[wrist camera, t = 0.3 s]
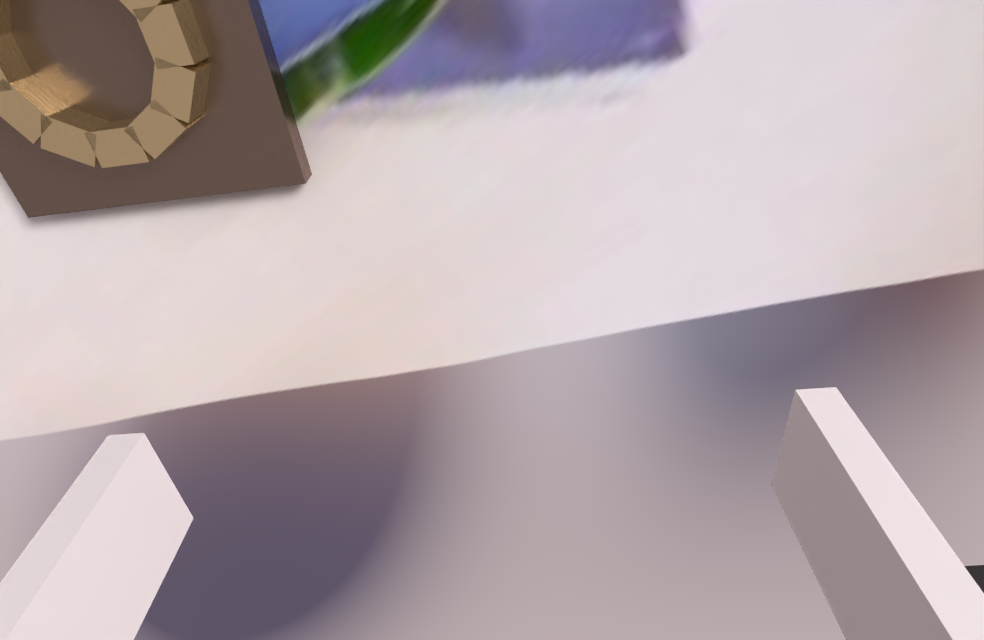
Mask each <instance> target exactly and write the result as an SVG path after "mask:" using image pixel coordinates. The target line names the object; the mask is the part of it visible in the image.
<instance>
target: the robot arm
mask: <svg viewBox="0 0 984 640" xmlns="http://www.w3.org/2000/svg"><path fill="white" fill-rule="evenodd" d="M771 485H772V487H773V489H774V491H775V493H776V495H777V497H778V499H779V502H780V504H781V506H782V508H783V510H784V512H785V514H786V516H787V518H788V520H789V522H790V524H791V526H792V529H793V531H794V533H795V534H796V537H797V539H798V541H799V543H800V545H801V547H802V549H803V551H804V553H805V556H806V558H807V560H808V562H809V564H810V566H811V568H812V570H813V572H814V574H815V576H816V578H817V580H818V582H819V584H820V587H821V589H822V591H823V593H824V595H825V597H826V599H827V601H828V603H829V605H830V607H831V609H832V611H833V613H834V615H835V618H836V620H837V622H838V624H839V626H840V628H841V630H842V632H843V634H844V636H845V638H846V640H984V565H978V566H964V565H963V564H962V563H961V561H960V560H959V558H958V557H957V555H956V554H955V553H954V551H953V550H952V549H951V547H950V546H949V544H948V543H947V542H946V540H945V539H944V537H943V536H942V535H941V533H940V532H939V530H938V529H937V528H936V526H935V525H934V523H933V522H932V521H931V519H930V518H929V517H928V515H927V514H926V512H925V511H924V509H923V508H922V507H921V505H920V504H919V502H918V501H917V500H916V498H915V497H914V495H913V494H912V493H911V491H910V490H909V488H908V487H907V486H906V484H905V483H904V482H903V480H902V479H901V477H900V476H899V475H898V473H897V472H896V470H895V469H894V468H893V466H892V465H891V463H890V462H889V461H888V459H887V458H886V456H885V455H884V454H883V452H882V451H881V450H880V448H879V447H878V445H877V444H876V443H875V441H874V440H873V438H872V437H871V436H870V434H869V433H868V431H867V430H866V429H865V427H864V426H863V424H862V423H861V422H860V420H859V419H858V417H857V416H856V415H855V413H854V412H853V411H852V409H851V408H850V406H849V405H848V403H847V402H846V401H845V399H844V398H843V396H842V395H841V394H840V392H839V391H838V390H837V388H836V387H833V388H818V389H803V390H795V394H794V398H793V402H792V406H791V410H790V414H789V417H788V421H787V425H786V429H785V433H784V437H783V441H782V445H781V449H780V453H779V457H778V460H777V465H776V468H775V472H774V476H773V480H772V484H771ZM192 520H193V517H192V515H191V513H190V511H189V510H188V508H187V506H186V505H185V503H184V501H183V499H182V498H181V496H180V494H179V492H178V491H177V489H176V487H175V486H174V484H173V482H172V480H171V479H170V477H169V475H168V473H167V472H166V470H165V468H164V467H163V465H162V463H161V461H160V460H159V458H158V456H157V455H156V453H155V451H154V450H153V448H152V446H151V444H150V442H149V441H148V439H147V437H146V436H145V434H144V433H136V434H123V435H122V434H121V435H108V436H107V438H106V439H105V440H104V442H103V443H102V445H101V446H100V447H99V449H98V450H97V451H96V453H95V454H94V455H93V457H92V458H91V460H90V461H89V462H88V464H87V465H86V466H85V468H84V469H83V471H82V472H81V473H80V475H79V476H78V477H77V479H76V480H75V481H74V483H73V484H72V485H71V487H70V488H69V490H68V491H67V492H66V494H65V495H64V496H63V498H62V499H61V500H60V502H59V503H58V505H57V506H56V507H55V509H54V510H53V511H52V513H51V514H50V516H49V517H48V518H47V520H46V521H45V522H44V524H43V525H42V527H41V528H40V529H39V531H38V532H37V533H36V535H35V536H34V537H33V539H32V540H31V541H30V543H29V544H28V546H27V547H26V548H25V550H24V551H23V552H22V554H21V555H20V557H19V558H18V559H17V560H16V562H15V563H14V565H13V566H12V567H11V569H10V570H9V571H8V573H7V574H6V575H5V577H4V578H3V580H2V581H1V582H0V640H134V638H135V636H136V634H137V632H138V630H139V628H140V626H141V624H142V622H143V620H144V618H145V615H146V613H147V611H148V609H149V607H150V605H151V603H152V601H153V599H154V597H155V595H156V593H157V591H158V589H159V587H160V585H161V583H162V581H163V579H164V577H165V575H166V573H167V571H168V569H169V567H170V565H171V563H172V561H173V559H174V557H175V555H176V553H177V551H178V548H179V546H180V545H181V543H182V540H183V538H184V536H185V534H186V532H187V530H188V528H189V526H190V524H191V522H192Z"/></svg>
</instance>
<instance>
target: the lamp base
mask: <svg viewBox="0 0 984 640" xmlns="http://www.w3.org/2000/svg"><path fill="white" fill-rule="evenodd" d="M0 172H1V173H2V175H3V177H4V178H5V180H6V181H7V183H8V185H9V186H10V188H11V190H12V191H13V193H14V195H15V196H16V198H17V200H18V201H19V203H20V205H21V206H22V208H23V210H24V211H25V213H26V214H27V216H28V218H29V217H37V216H45V215H53V214H61V213H69V212H78V211H86V210H94V209H102V208H110V207H118V206H126V205H134V204H142V203H150V202H158V201H166V200H174V199H182V198H191V197H199V196H207V195H215V194H223V193H231V192H239V191H247V190H255V189H263V188H271V187H279V186H287V185H295V184H303V183H306V182H307V180H308V179H309V178H310V176H311V175H312V174H311V170H310V167H309V164H308V161H307V157H306V154H305V151H304V148H303V144H302V141H301V138H300V135H299V131H298V128H297V125H296V121H295V118H294V115H293V112H292V108H291V105H290V102H289V99H288V95H287V92H286V89H285V86H284V82H283V79H282V76H281V73H280V69H279V66H278V63H277V60H276V56H275V53H274V50H273V47H272V43H271V40H270V37H269V33H268V30H267V27H266V24H265V20H264V17H263V14H262V11H261V7H260V4H259V1H258V0H0Z"/></svg>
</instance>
